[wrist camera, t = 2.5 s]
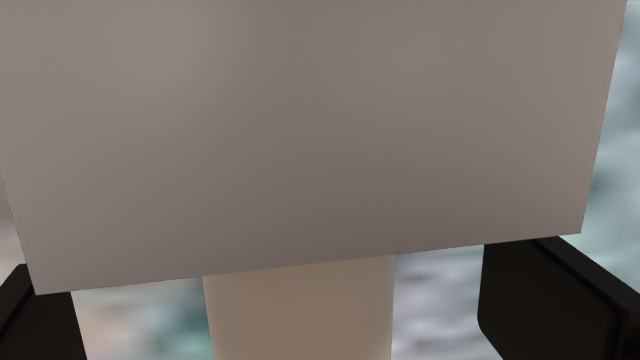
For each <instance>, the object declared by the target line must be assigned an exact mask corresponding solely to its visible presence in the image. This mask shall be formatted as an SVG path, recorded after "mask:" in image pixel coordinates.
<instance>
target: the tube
mask: <svg viewBox="0 0 640 360" xmlns="http://www.w3.org/2000/svg"><path fill="white" fill-rule="evenodd" d="M394 263H395V254H393V255H385V256H376V257H367V258H358V259H349V260H341V261H332V262H323V263H314V264H305V265H297V266H288V267H279V268H270V269H262V270H253V271H244V272H235V273H226V274H218V275H209V276H202V281H203V288H204V296H205V303H206V310H207V317H208V324H209V332H210V339H211V346H212V353H213V360H391V344H392V317H393V290H394Z"/></svg>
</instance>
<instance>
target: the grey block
mask: <svg viewBox="0 0 640 360" xmlns="http://www.w3.org/2000/svg"><path fill="white" fill-rule="evenodd" d="M626 2H627V0H0V175H1V178H2V182H3V185H4V188H5V192H6V195H7V199H8V202H9V205H10V209H11V212H12V216H13V219H14V222H15V226H16V229H17V233H18V236H19V239H20V243H21V246H22V250H23V253H24V256H25V260H26V263H27V267H28V270H29V273H30V277H31V280H32V284H33V287H34V290H35V294H36V295H42V294H50V293H59V292H68V291H77V290H86V289H94V288H103V287H112V286H121V285H130V284H138V283H147V282H156V281H165V280H174V279H182V278H191V277H200V276H209V275H218V274H226V273H235V272H244V271H253V270H262V269H270V268H279V267H288V266H297V265H305V264H314V263H323V262H332V261H341V260H349V259H358V258H367V257H376V256H385V255H393V254H402V253H411V252H420V251H429V250H437V249H446V248H455V247H464V246H473V245H481V244H490V243H499V242H508V241H517V240H525V239H534V238H543V237H552V236H560V235H569V234H578V233H581V228H582V223H583V218H584V213H585V208H586V203H587V198H588V193H589V188H590V183H591V178H592V173H593V168H594V163H595V158H596V153H597V148H598V143H599V138H600V133H601V128H602V123H603V118H604V113H605V108H606V103H607V98H608V93H609V87H610V82H611V77H612V72H613V67H614V62H615V57H616V52H617V47H618V42H619V37H620V32H621V27H622V22H623V17H624V12H625V7H626Z"/></svg>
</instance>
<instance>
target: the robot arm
mask: <svg viewBox="0 0 640 360" xmlns="http://www.w3.org/2000/svg"><path fill="white" fill-rule="evenodd" d="M477 319H478V324H479V327H480V329H481V331H482V333H483V334H484V335H485V336H486V338H487V339H488V340H489V342H490V343H491V344H492V346H493V347H494V348H495V349H496V351H497V352H498V353H499V355H500V356H501V357H502V359H503V360H640V294H639V293H638V292H637V291H635V290H634V289H632V288H631V287H629V286H628V285H627V284H625V283H624V282H622V281H621V280H620V279H618V278H617V277H615V276H614V275H613V274H611V273H610V272H608V271H607V270H606V269H604V268H603V267H601V266H600V265H599V264H597V263H596V262H594V261H593V260H591V259H590V258H589V257H587V256H586V255H584V254H583V253H582V252H580V251H579V250H577V249H576V248H575V247H573V246H572V245H570V244H569V243H568V242H566V241H565V240H563V239H562V238H560V237H559V236H552V237H543V238H534V239H525V240H517V241H508V242H499V243H490V244H484V254H483V264H482V274H481V283H480V293H479V303H478V313H477ZM0 360H87V357H86V353H85V349H84V345H83V341H82V337H81V333H80V329H79V325H78V321H77V317H76V313H75V309H74V305H73V301H72V297H71V293H70V291H68V292H59V293H50V294H42V295H36V294H35V290H34V287H33V284H32V280H31V277H30V273H29V270H28V267H27V263H26V264H19V265H18V266H17V267H16V268H15V269H14V270H13V271H12V273H11V274H10V275H9V276H8V278H7V279H6V280H5V281H4V283H3V284H2V285H1V286H0Z"/></svg>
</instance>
